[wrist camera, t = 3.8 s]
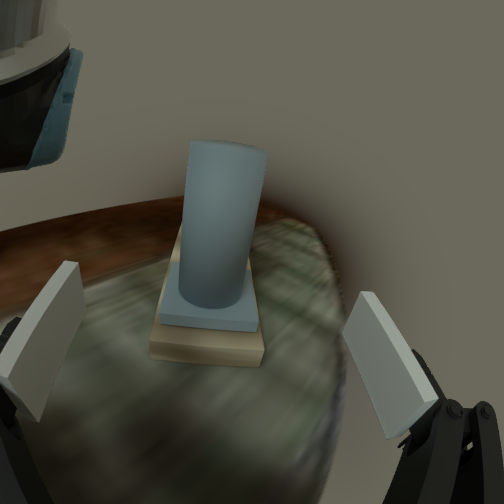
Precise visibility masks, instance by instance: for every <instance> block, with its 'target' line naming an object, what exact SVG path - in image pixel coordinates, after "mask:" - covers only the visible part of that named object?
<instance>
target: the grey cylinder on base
mask: <svg viewBox="0 0 504 504" xmlns="http://www.w3.org/2000/svg"><path fill="white" fill-rule="evenodd" d="M267 159H268V151H266V150H264V149H261V148H258V147H254V146H251V145H246V144H241V143H235V142H228V141H219V140H194V141H191V143H190V150H189V159H188V168H187V176H186V186H185V196H184V206H183V218H182V231H181V246H180V262H172V264H171V268H170V271H169V275H168V279H167V283H166V286H165V290H164V294H163V298H162V302H161V306H160V310H159V324H167V325H176V326H185V327H195V328H206V329H217V330H230V331H244V332H256V331H257V327H258V323H259V321H258V315H257V309H256V303H255V297H254V291H253V285H252V279H251V272H250V270H249V269H246V268H247V263H248V257H249V252H250V247H251V242H252V236H253V231H254V226H255V221H256V216H257V210H258V205H259V200H260V195H261V190H262V184H263V179H264V174H265V169H266V163H267Z"/></svg>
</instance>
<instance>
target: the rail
mask: <svg viewBox="0 0 504 504" xmlns="http://www.w3.org/2000/svg"><path fill="white" fill-rule="evenodd" d="M181 231H182V223H181V226H180V230H179V233H178V236H177V239H176V242H175V246H174V249H173V252H172V256H171V259H170V263H169V266H168V269H167V273H166V277H165V280H164V284H163V287H162V291H161V295H160V299H159V302H158V306H157V310H156V314H155V318H154V322H153V326H152V330H151V334H150V339H149V344H150V355H151V359H156V360H164V361H172V362H182V363H191V364H203V365H216V366H231V367H254V368H259V367H260V363H261V360H262V357H263V354H264V344H263V338H262V332H261V326H260V320H259V315H258V309H257V303H256V297H255V291H254V285H253V279H252V273H251V279H252V285H253V291H254V297H255V303H256V309H257V315H258V321H259V323H258V327H257V331H256V332H244V331H230V330H217V329H206V328H195V327H185V326H176V325H167V324H159V310H160V306H161V302H162V298H163V294H164V290H165V286H166V283H167V279H168V275H169V271H170V268H171V264H172V262H180V246H181ZM246 269H249V270H250V272H251V267H250V261H249V257H248V263H247V268H246Z"/></svg>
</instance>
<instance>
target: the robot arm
mask: <svg viewBox="0 0 504 504" xmlns="http://www.w3.org/2000/svg"><path fill="white" fill-rule="evenodd" d="M59 4H60V0H0V173H4V172H11V171H18V170H29V169H30V168H32V167H37V166H42V165H47V164H51V163H53V162H55V161H57V160H58V159H59V158H60V157H61V155H62V153H63V151H64V148H65V143H66V137H67V132H68V125H69V120H70V114H71V108H72V103H73V98H74V93H75V88H76V85H77V80H78V76H79V72H80V67H81V63H82V59H83V52H82V51H80V50H76V49H74V48H71V49H69V45H70V31H69V30H68V28H67V27H66V26H64V25H63V24H62V23H60V22H59V21H58V20H57V14H58V9H59ZM86 311H87V308H86V303H85V298H84V293H83V287H82V281H81V275H80V269H79V263H78V262H71V261H64V262H63V263H62V265H61V266H60V267H59V268H58V270H57V271H56V272H55V273H54V275H53V276H52V277H51V279H50V280H49V281H48V283H47V284H46V285H45V287H44V288H43V289H42V291H41V292H40V294H39V295H38V296H37V298H36V299H35V301H34V302H33V303H32V305H31V306H30V308H29V309H28V311H27V312H26V314H25V315H24V317H23V318H19V317H16V318H14V319H13V320H12V321H11V322H9V323H8V324H7V325H6V327H5V328H4V330H3V331H2V333H1V335H0V504H54V502H53V500H52V499H51V497H50V495H49V493H48V491H47V489H46V487H45V485H44V483H43V481H42V479H41V477H40V475H39V473H38V471H37V469H36V466H35V464H34V462H33V460H32V457H31V455H30V452H29V450H28V448H27V445H26V442H25V440H24V437H23V434H22V432H21V429H20V426H19V423H18V420H17V418H16V416H15V413H16V410H17V409H18V411H19V412H20V413H21V414H22V416H23V417H25V418H28V419H30V420H33V421H35V422H38V423H39V422H40V419H41V416H42V413H43V410H44V407H45V405H46V402H47V399H48V397H49V394H50V391H51V389H52V386H53V384H54V381H55V379H56V376H57V374H58V371H59V369H60V367H61V364H62V362H63V360H64V357H65V355H66V353H67V351H68V349H69V346H70V344H71V342H72V340H73V338H74V336H75V334H76V331H77V329H78V327H79V325H80V323H81V321H82V319H83V317H84V315H85V313H86ZM342 335H343V337H344V339H345V341H346V344H347V346H348V348H349V350H350V353H351V355H352V357H353V359H354V362H355V364H356V366H357V369H358V371H359V373H360V376H361V378H362V380H363V383H364V385H365V388H366V390H367V392H368V395H369V397H370V399H371V402H372V404H373V407H374V409H375V412H376V414H377V417H378V419H379V422H380V424H381V427H382V429H383V432H384V435H385V437H386V440H388V439H392V438H396V437H399V436H401V435H403V434H404V433H405V432H406V431H407V430H408V429H409V430H410V433H411V434H410V435H409V436H408V437H407V438H405V439H404V440H403V441H402V442H401V443H400V444H399V445H398V448H400V447H401V446H403V445H404V444H405V446H404V448H403V452H402V455H401V458H400V461H399V464H398V467H397V470H396V472H395V475H394V477H393V480H392V482H391V485H390V487H389V489H388V492H387V494H386V496H385V499H384V501H383V503H382V504H504V468H503V458H502V450H501V442H500V436H499V430H498V424H497V419H496V414H495V411H494V409H493V407H492V406H491V405H490V404H489V403H487V402H485V401H481V402H479V403H478V404H477V405H476V406H475V407H474V408H473V409H472V408H463V407H462V406H461V405H460V404H459V403H458V402H457V401H455V400H452V399H446V397H445V396H444V394H443V392H442V390H441V388H440V387H439V385H438V383H437V381H436V380H435V378H434V376H433V375H432V374H431V371H430V370H429V368H428V367H427V365H426V363H425V361H424V360H423V358H422V357H421V356H420V355H419V354H418V353H417V352H416V351H415V350H414V349H412V350H410V348H409V346H408V345H407V343H406V341H405V340H404V338H403V337H402V335H401V333H400V332H399V330H398V329H397V327H396V326H395V324H394V322H393V321H392V319H391V318H390V316H389V315H388V313H387V312H386V310H385V309H384V307H383V306H382V304H381V303H380V301H379V300H378V298H377V297H376V295H375V294H374V292H364V291H361V292H360V294H359V296H358V299H357V301H356V303H355V305H354V308H353V310H352V312H351V314H350V316H349V319H348V321H347V323H346V325H345V327H344V329H343V331H342ZM471 442H472V443H473V447H472V448H471V449H469V450H468V449H467V445H468V444H469V443H471Z"/></svg>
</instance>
